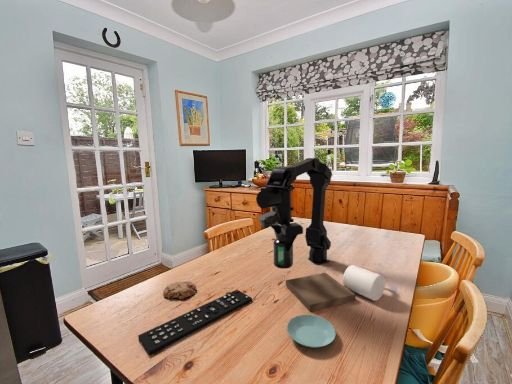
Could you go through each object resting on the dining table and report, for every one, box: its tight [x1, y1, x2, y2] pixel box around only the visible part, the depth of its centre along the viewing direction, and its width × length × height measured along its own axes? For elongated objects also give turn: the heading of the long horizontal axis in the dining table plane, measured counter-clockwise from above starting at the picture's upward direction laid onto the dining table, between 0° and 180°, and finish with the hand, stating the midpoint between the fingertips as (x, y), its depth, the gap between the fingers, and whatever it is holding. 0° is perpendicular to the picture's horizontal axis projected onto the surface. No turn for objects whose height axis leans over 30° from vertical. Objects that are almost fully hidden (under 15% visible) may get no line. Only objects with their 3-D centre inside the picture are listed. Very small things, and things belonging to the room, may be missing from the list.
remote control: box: [137, 289, 253, 356], centre depth 73 cm, size 8×32×2 cm, turn 132°
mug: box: [342, 264, 386, 302], centre depth 84 cm, size 12×10×8 cm
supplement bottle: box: [272, 231, 294, 269], centre depth 91 cm, size 7×7×12 cm
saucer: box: [286, 314, 337, 349], centre depth 64 cm, size 12×12×2 cm
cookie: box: [162, 281, 197, 300], centre depth 86 cm, size 10×11×3 cm
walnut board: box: [285, 272, 356, 312], centre depth 84 cm, size 16×16×2 cm
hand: (283, 247), depth 90 cm, fingers closed on supplement bottle, 7 cm apart
